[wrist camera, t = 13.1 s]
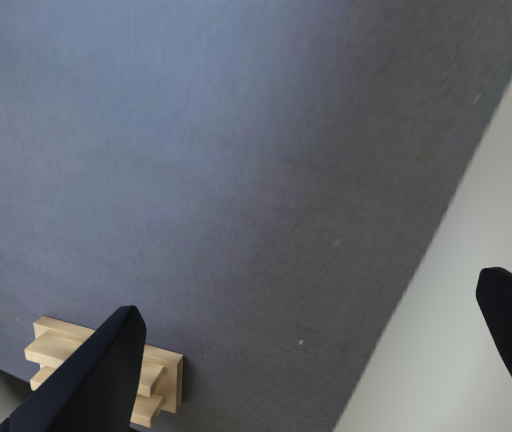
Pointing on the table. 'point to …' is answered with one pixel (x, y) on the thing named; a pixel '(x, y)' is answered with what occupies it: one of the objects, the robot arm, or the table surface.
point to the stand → (152, 372)
